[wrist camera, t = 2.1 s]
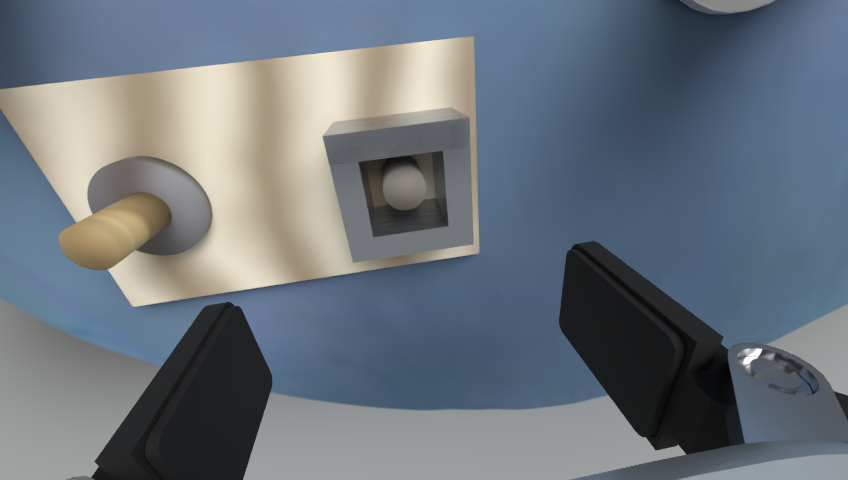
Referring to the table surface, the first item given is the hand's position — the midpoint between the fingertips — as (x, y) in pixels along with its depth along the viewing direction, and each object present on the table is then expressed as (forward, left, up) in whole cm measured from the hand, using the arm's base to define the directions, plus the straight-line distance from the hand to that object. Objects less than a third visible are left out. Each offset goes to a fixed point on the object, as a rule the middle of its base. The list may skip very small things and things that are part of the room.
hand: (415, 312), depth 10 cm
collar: (0, 0, -13) cm, 13 cm away
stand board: (+7, 0, -15) cm, 16 cm away
